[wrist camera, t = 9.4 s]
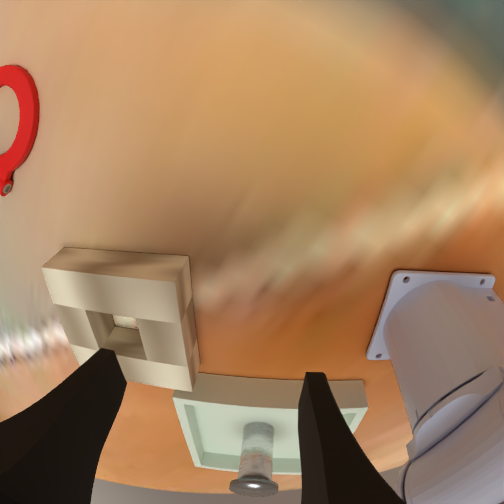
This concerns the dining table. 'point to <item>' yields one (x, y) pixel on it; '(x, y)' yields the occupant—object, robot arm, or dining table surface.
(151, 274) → the pin block
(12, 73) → the tow hook
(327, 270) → the dining table surface
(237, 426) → the tray
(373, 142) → the dining table surface
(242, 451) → the steel pin
